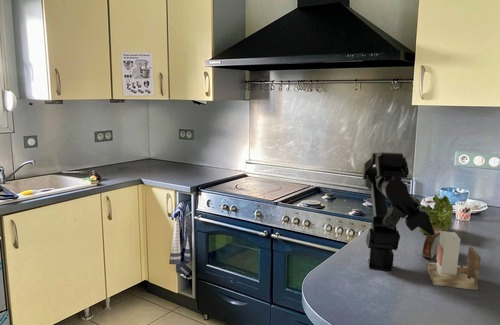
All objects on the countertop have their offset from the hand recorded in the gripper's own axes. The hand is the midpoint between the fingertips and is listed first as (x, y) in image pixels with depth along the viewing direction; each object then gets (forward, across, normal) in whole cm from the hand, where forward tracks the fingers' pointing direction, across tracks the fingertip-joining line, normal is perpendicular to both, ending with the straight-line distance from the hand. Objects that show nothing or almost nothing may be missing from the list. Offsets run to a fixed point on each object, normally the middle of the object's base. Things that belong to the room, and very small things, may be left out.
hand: (433, 234), depth 119 cm
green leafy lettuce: (+14, -43, -4) cm, 46 cm away
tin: (+13, -19, -6) cm, 24 cm away
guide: (+14, 0, -5) cm, 14 cm away
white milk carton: (+11, 0, -5) cm, 13 cm away
